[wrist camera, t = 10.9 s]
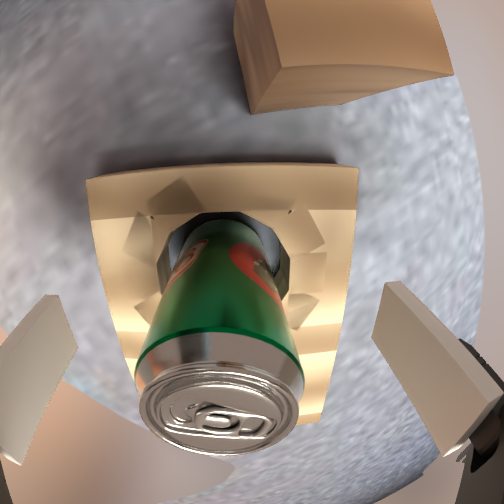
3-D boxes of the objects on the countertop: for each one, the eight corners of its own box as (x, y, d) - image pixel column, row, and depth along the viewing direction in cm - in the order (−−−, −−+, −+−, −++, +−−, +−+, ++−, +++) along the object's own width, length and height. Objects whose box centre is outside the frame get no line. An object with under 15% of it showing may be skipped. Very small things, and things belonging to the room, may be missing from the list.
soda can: (194, 206, 16) (128, 330, 5) (275, 230, 17) (348, 373, 6) (175, 280, 18) (125, 442, 7) (249, 299, 19) (272, 466, 8)
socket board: (107, 173, 15) (85, 179, 12) (338, 164, 16) (358, 168, 13) (159, 403, 22) (154, 428, 19) (311, 397, 23) (318, 421, 20)
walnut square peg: (233, 33, 13) (239, -75, 3) (321, 27, 13) (401, -55, 3) (250, 114, 15) (281, 66, 5) (340, 104, 15) (454, 75, 5)
